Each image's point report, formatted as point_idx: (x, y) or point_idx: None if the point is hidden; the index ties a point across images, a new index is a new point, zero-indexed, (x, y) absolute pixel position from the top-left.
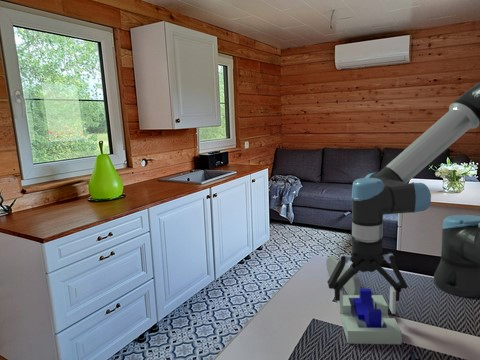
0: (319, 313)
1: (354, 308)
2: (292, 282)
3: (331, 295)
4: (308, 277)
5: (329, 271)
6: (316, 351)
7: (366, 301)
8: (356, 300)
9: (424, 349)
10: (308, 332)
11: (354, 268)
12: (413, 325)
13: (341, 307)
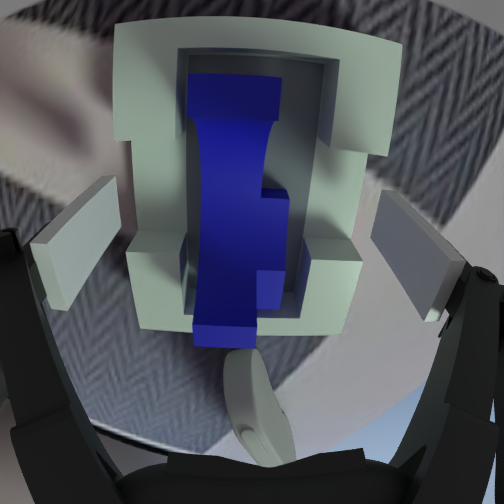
0: None
1: None
2: (403, 395)
3: (323, 353)
4: (350, 416)
5: (291, 437)
6: (481, 41)
7: (228, 276)
8: (274, 291)
9: (66, 20)
10: (482, 147)
11: (482, 469)
12: (59, 169)
13: (404, 204)
